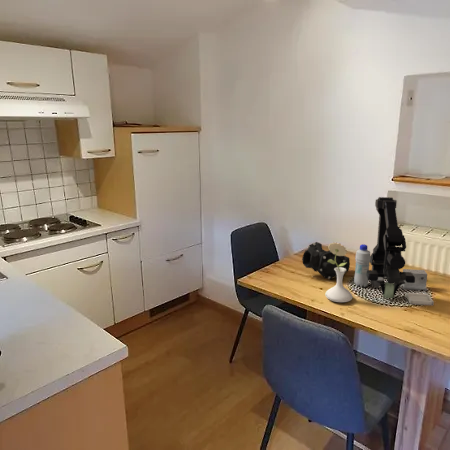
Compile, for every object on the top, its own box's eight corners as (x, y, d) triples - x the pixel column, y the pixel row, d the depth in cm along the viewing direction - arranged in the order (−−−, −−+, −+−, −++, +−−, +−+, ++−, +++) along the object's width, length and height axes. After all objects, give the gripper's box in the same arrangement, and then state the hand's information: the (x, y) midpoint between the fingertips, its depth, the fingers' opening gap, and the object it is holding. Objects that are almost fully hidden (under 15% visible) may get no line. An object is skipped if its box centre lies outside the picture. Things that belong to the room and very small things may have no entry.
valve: (327, 240, 216) (358, 256, 187) (320, 265, 218) (350, 284, 190) (292, 234, 210) (319, 248, 181) (285, 259, 212) (311, 278, 183)
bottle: (361, 289, 178) (364, 247, 173) (350, 284, 184) (353, 243, 179) (371, 286, 181) (375, 245, 176) (360, 281, 187) (363, 241, 182)
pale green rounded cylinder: (384, 298, 169) (385, 285, 167) (382, 294, 172) (383, 281, 171) (394, 299, 168) (395, 286, 166) (392, 295, 172) (393, 282, 170)
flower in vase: (358, 300, 167) (362, 245, 161) (339, 307, 161) (343, 250, 155) (334, 290, 178) (337, 237, 171) (316, 296, 172) (319, 242, 166)
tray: (410, 304, 163) (410, 300, 162) (405, 295, 170) (405, 292, 170) (433, 305, 161) (433, 302, 161) (427, 297, 169) (428, 293, 168)
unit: (402, 289, 177) (404, 273, 175) (399, 284, 182) (401, 268, 180) (427, 291, 175) (429, 274, 173) (423, 286, 180) (425, 269, 178)
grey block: (374, 287, 180) (374, 279, 179) (370, 284, 184) (370, 276, 183) (382, 287, 180) (383, 279, 179) (378, 283, 184) (379, 275, 183)
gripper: (371, 266, 160) (368, 301, 164) (420, 268, 156) (416, 304, 160) (367, 257, 171) (365, 290, 175) (413, 259, 167) (409, 293, 171)
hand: (388, 294), depth 170 cm, fingers closed on pale green rounded cylinder, 4 cm apart
